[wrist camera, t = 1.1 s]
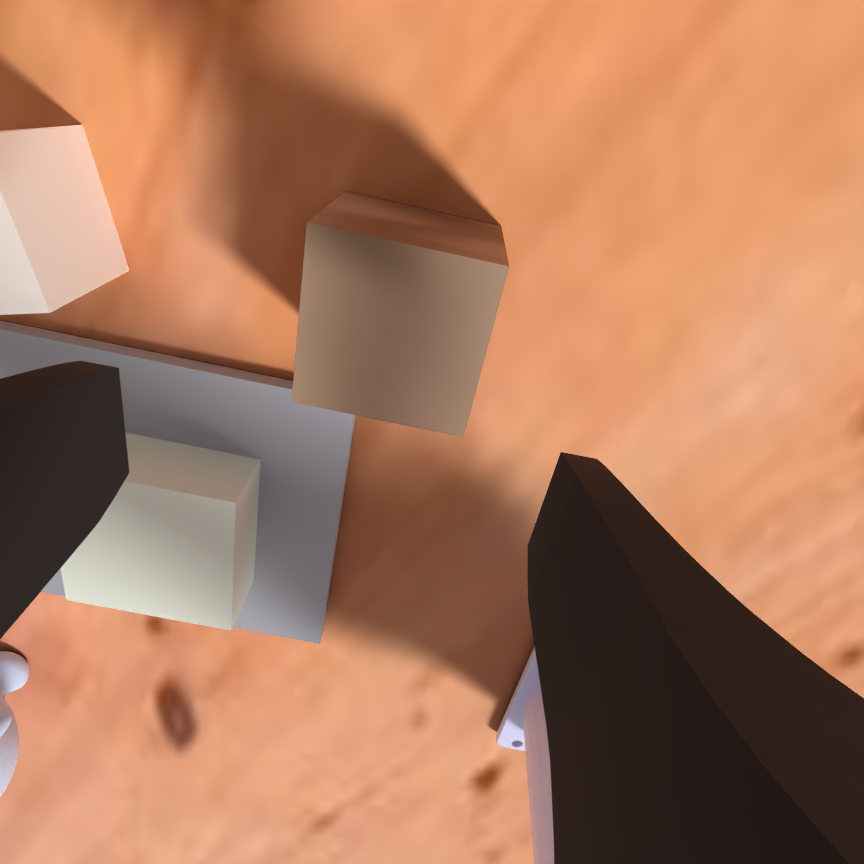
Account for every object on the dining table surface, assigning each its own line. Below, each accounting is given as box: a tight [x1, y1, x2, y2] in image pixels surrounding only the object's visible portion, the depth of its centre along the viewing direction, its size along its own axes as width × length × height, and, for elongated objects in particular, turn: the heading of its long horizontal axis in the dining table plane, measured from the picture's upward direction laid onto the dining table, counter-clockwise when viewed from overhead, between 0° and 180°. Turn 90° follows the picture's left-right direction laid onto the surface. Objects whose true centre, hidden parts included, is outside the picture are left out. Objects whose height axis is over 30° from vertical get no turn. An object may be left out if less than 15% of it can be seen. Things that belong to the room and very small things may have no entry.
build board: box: [0, 320, 356, 644], centre depth 22 cm, size 12×12×1 cm
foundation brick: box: [61, 432, 261, 630], centre depth 21 cm, size 6×6×2 cm
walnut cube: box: [291, 191, 509, 437], centre depth 16 cm, size 4×4×4 cm
